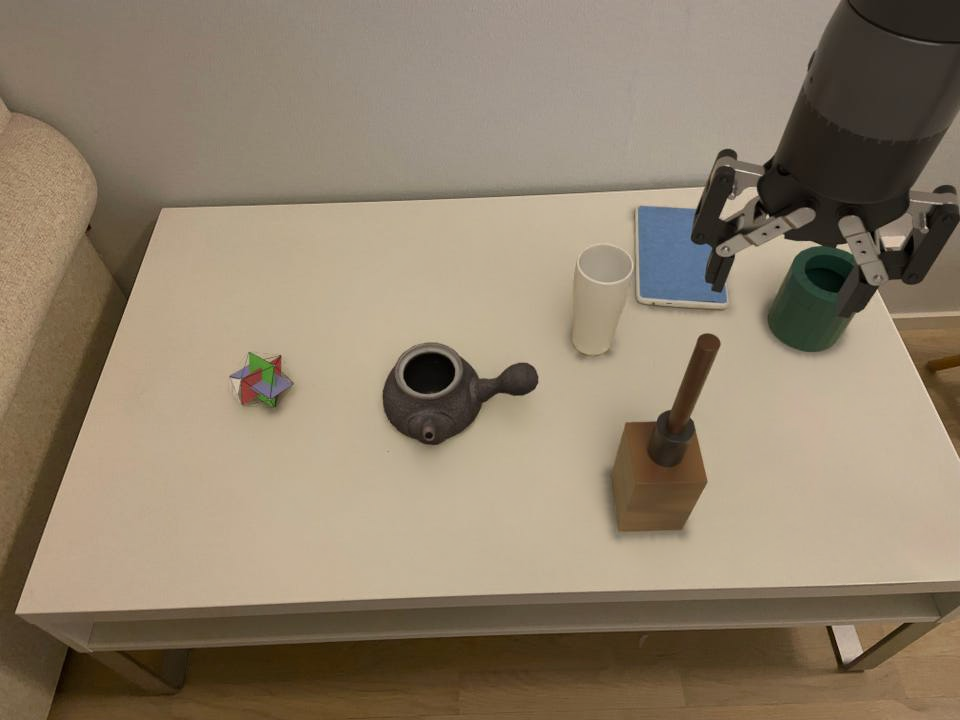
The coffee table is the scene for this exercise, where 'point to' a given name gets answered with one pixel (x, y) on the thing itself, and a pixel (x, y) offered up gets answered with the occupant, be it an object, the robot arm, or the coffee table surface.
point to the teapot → (444, 391)
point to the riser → (654, 483)
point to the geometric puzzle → (259, 380)
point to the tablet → (672, 261)
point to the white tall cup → (599, 296)
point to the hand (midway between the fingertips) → (778, 296)
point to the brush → (683, 406)
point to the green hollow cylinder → (811, 300)
